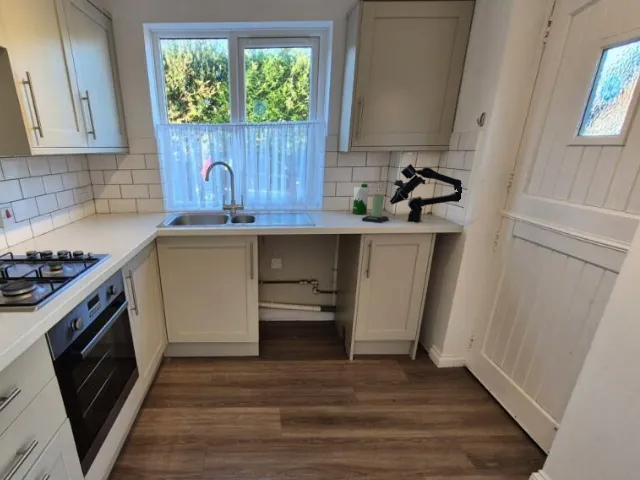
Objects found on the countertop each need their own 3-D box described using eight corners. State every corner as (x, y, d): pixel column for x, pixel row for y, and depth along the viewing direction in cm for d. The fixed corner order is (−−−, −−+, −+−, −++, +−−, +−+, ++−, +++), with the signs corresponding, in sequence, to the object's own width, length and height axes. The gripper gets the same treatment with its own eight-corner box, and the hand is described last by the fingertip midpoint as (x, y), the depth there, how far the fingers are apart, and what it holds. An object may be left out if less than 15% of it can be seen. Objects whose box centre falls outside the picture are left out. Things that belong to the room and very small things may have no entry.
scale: (388, 220, 228) (388, 216, 227) (380, 222, 220) (380, 218, 219) (370, 218, 236) (371, 214, 235) (361, 220, 228) (362, 216, 227)
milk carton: (368, 214, 252) (371, 184, 245) (357, 215, 249) (359, 185, 242) (361, 212, 260) (363, 183, 253) (350, 213, 257) (352, 184, 250)
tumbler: (379, 215, 231) (381, 194, 226) (383, 216, 225) (385, 195, 221) (369, 215, 231) (371, 194, 226) (373, 217, 225) (375, 195, 220)
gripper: (401, 173, 225) (380, 192, 231) (405, 175, 208) (383, 195, 214) (413, 186, 225) (392, 204, 232) (417, 189, 209) (395, 208, 215)
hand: (390, 203), depth 223 cm, fingers open, 9 cm apart
